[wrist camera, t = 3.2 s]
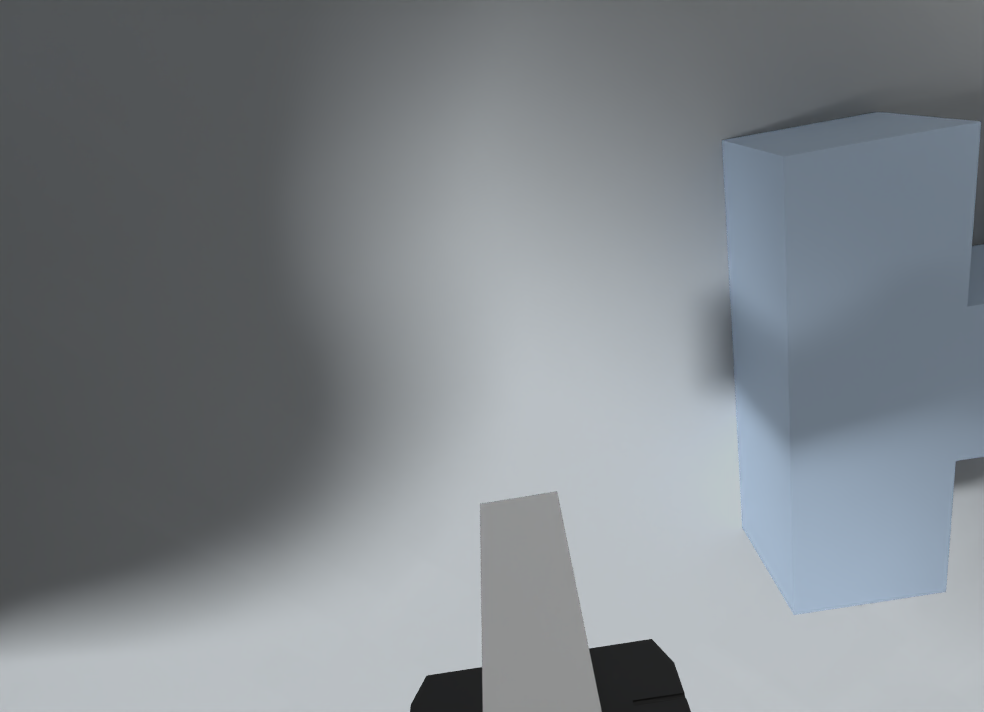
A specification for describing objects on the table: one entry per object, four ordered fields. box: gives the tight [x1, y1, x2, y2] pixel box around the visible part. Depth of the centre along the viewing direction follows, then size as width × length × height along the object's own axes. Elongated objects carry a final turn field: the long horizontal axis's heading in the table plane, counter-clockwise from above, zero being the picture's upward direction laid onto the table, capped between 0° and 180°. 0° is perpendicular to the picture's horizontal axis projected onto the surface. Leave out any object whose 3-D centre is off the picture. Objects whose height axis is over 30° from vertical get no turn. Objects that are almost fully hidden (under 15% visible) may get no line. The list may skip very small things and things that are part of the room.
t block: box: [722, 112, 984, 615], centre depth 19 cm, size 10×12×4 cm
